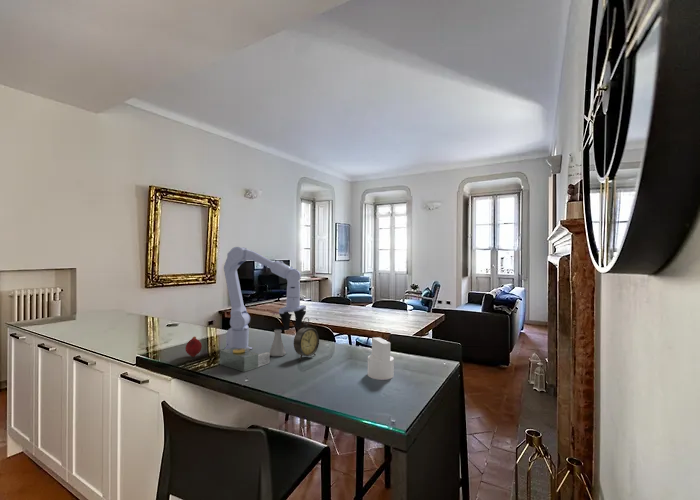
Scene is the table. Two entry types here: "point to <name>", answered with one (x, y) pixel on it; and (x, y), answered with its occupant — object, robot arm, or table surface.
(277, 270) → the robot arm
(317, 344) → the alarm clock
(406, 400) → the table surface
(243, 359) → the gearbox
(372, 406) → the table surface
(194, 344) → the onion
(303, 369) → the table surface
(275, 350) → the flask
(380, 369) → the base with upright slab
